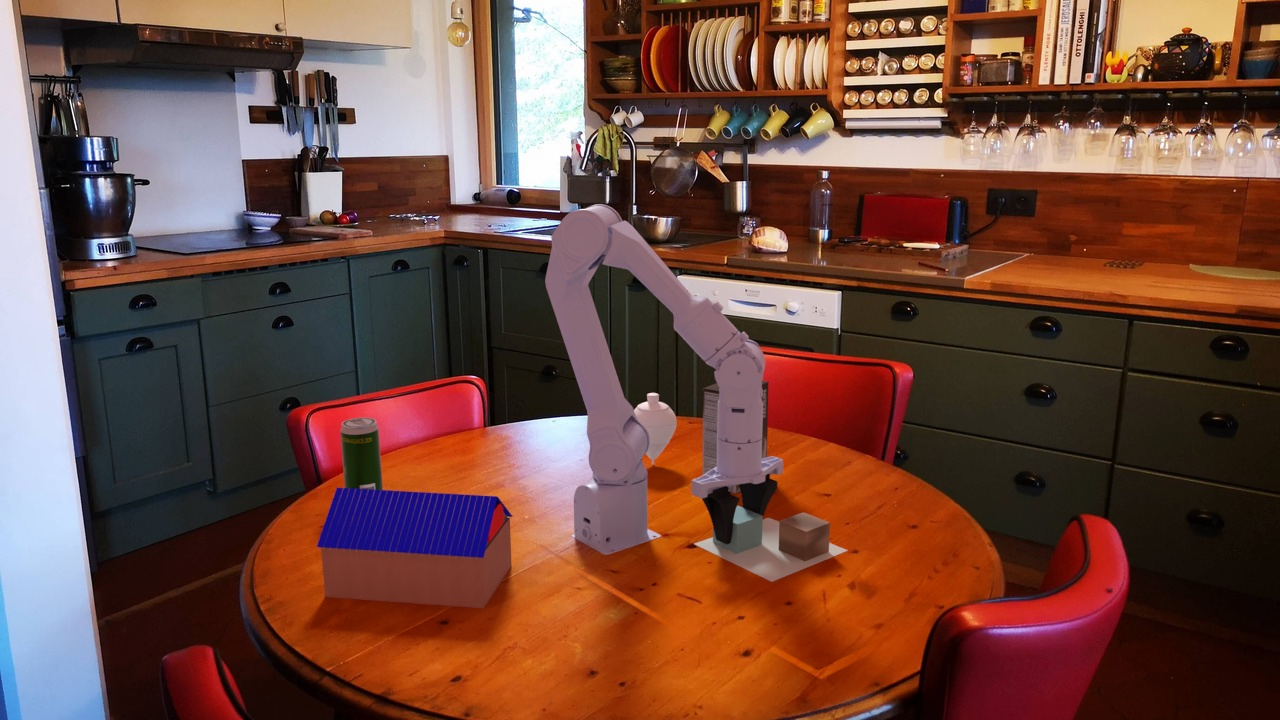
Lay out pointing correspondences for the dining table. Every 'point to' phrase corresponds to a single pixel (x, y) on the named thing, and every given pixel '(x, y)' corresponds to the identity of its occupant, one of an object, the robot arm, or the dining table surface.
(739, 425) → the robot arm
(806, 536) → the walnut block
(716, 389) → the coffee box
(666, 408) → the spinning top
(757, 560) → the mat
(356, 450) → the beer can
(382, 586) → the house
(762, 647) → the dining table surface
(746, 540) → the teal block
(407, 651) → the dining table surface
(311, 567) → the dining table surface
